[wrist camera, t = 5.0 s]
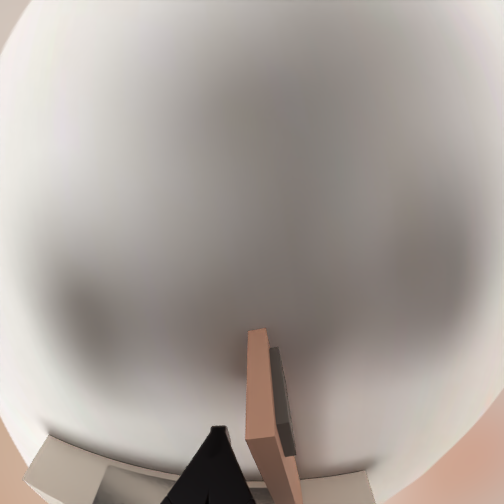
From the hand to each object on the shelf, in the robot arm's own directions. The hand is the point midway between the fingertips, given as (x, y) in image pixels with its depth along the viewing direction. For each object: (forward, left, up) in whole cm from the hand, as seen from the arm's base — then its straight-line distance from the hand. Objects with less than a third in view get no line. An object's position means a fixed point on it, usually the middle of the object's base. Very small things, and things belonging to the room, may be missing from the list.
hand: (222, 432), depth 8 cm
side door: (-3, -3, -2) cm, 4 cm away
